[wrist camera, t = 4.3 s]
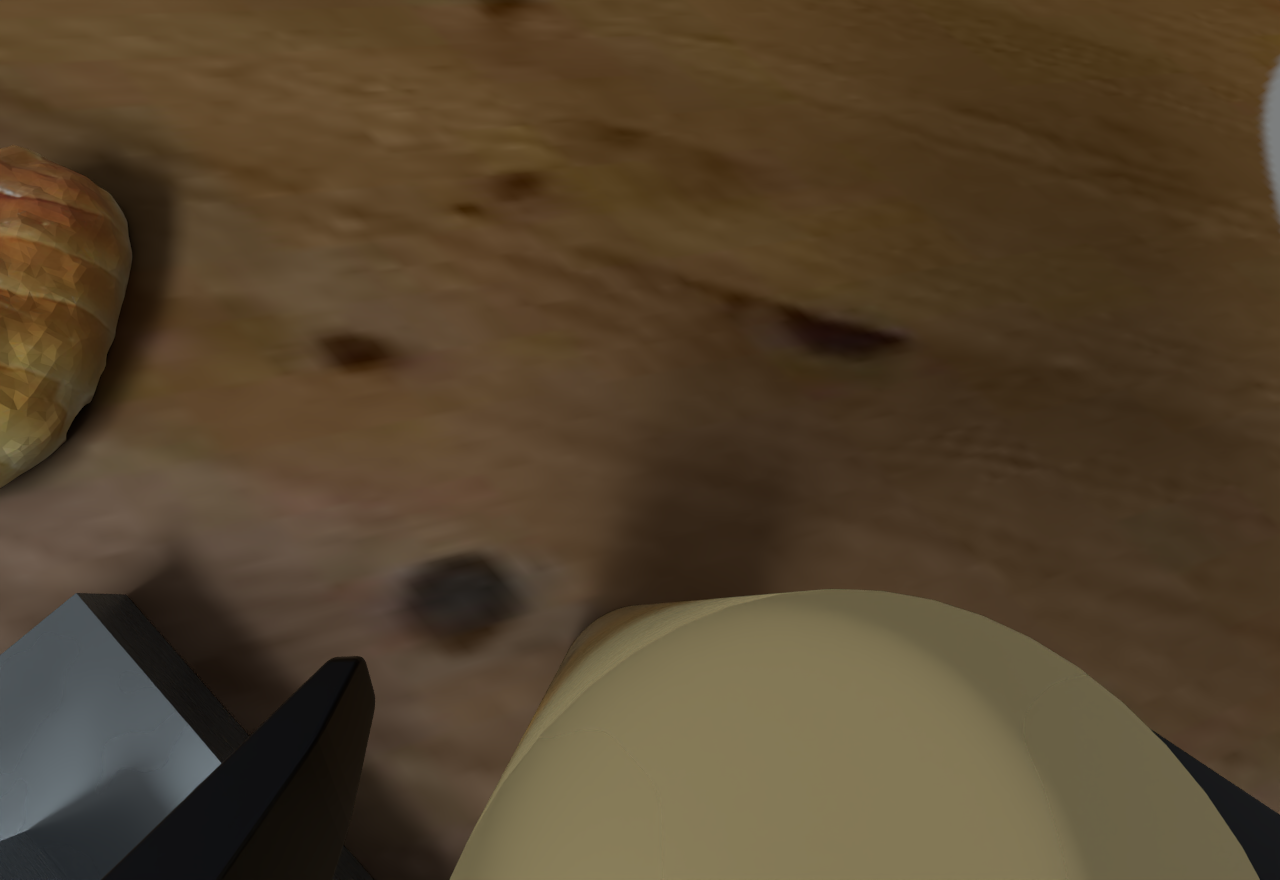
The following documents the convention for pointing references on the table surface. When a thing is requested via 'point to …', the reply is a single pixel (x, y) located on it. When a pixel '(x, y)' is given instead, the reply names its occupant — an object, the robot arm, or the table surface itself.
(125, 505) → the table surface
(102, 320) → the pastry
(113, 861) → the jig
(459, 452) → the table surface
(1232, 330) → the table surface
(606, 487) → the table surface
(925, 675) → the sleeve
